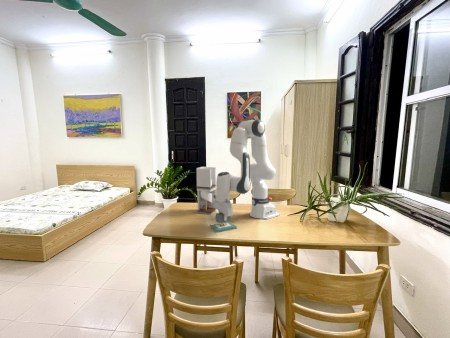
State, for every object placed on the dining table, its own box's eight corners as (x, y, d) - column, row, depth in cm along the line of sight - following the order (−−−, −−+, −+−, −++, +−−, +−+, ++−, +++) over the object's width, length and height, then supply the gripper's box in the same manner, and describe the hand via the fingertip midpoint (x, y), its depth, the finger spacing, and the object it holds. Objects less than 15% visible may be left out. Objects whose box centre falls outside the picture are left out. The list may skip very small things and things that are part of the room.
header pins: (226, 224, 148) (226, 220, 147) (226, 225, 147) (226, 220, 146) (219, 225, 145) (219, 221, 145) (220, 226, 145) (220, 221, 144)
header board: (229, 223, 154) (229, 221, 154) (236, 228, 145) (236, 226, 145) (210, 227, 148) (210, 224, 147) (216, 232, 139) (216, 230, 139)
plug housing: (227, 219, 149) (227, 211, 149) (230, 221, 146) (230, 213, 145) (215, 221, 146) (215, 213, 145) (218, 223, 142) (218, 215, 141)
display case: (197, 213, 176) (196, 168, 171) (203, 209, 185) (202, 166, 181) (210, 214, 172) (210, 169, 167) (216, 210, 181) (215, 167, 177)
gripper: (235, 201, 136) (235, 223, 138) (220, 193, 154) (220, 213, 156) (226, 202, 133) (226, 224, 135) (212, 194, 151) (212, 214, 153)
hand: (222, 218), depth 145 cm, fingers closed on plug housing, 4 cm apart
